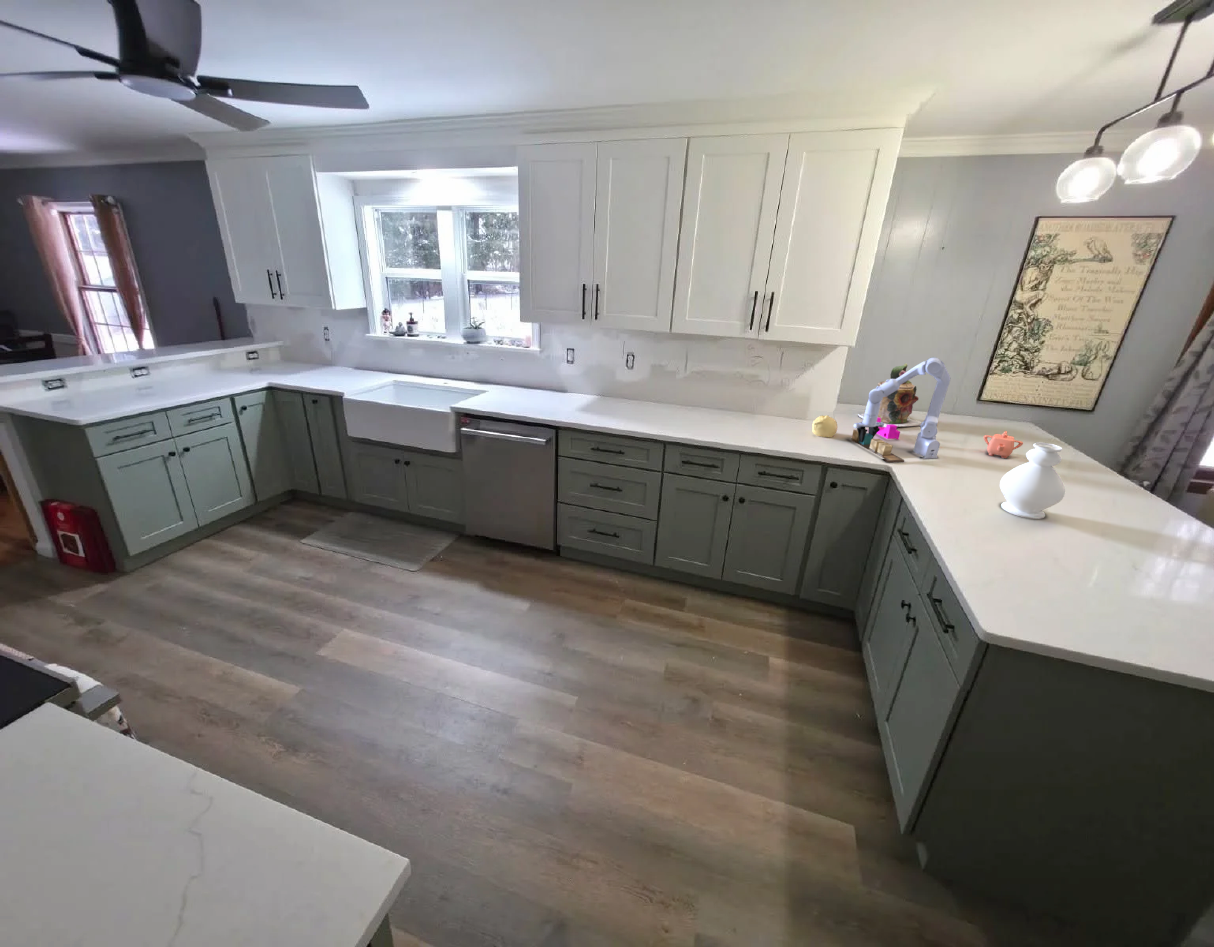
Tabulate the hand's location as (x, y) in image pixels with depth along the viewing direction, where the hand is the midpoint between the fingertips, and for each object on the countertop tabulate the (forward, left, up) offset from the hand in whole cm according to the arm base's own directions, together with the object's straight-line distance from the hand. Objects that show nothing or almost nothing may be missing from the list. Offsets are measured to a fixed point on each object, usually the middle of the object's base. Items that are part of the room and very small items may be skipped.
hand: (865, 441), depth 241 cm
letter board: (-7, 0, -2) cm, 7 cm away
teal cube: (0, 0, -1) cm, 1 cm away
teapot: (-20, -55, -2) cm, 59 cm away
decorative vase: (-71, -14, -2) cm, 72 cm away
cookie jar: (+34, -39, -2) cm, 52 cm away
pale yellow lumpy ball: (+15, +13, -2) cm, 20 cm away
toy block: (+12, -19, -2) cm, 23 cm away
